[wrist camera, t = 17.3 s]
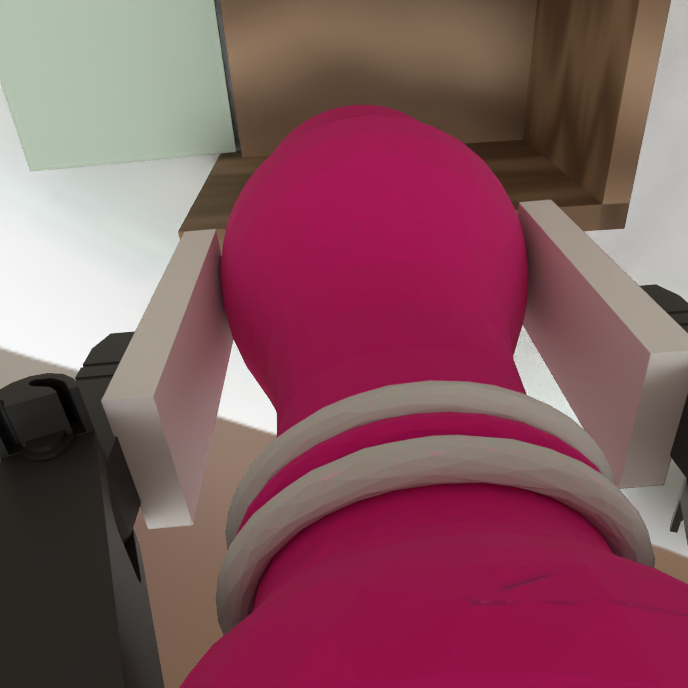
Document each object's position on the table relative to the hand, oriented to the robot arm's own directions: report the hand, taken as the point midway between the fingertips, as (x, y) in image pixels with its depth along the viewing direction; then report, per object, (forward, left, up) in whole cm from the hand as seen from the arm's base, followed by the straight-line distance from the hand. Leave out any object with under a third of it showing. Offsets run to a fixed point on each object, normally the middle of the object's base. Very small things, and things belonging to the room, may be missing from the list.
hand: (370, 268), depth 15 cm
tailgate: (+6, +7, -24) cm, 25 cm away
